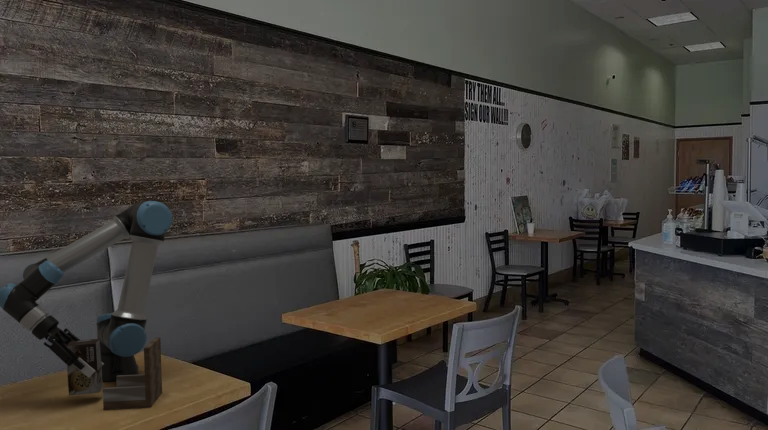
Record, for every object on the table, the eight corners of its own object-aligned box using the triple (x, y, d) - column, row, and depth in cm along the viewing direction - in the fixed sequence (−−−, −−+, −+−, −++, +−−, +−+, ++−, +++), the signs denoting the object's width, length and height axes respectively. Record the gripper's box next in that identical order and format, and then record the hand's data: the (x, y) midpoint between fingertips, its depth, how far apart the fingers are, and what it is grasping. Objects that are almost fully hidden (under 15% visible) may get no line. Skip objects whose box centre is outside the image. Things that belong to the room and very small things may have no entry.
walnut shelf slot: (118, 395, 200) (116, 339, 199) (162, 392, 202) (160, 337, 201) (103, 410, 186) (101, 350, 185) (150, 407, 188) (148, 348, 187)
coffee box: (103, 386, 199) (101, 338, 198) (99, 393, 193) (96, 342, 192) (73, 389, 197) (70, 340, 196) (67, 396, 190) (65, 345, 190)
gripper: (45, 325, 202) (99, 370, 204) (16, 339, 182) (76, 389, 185) (61, 308, 202) (114, 353, 205) (34, 321, 182) (93, 371, 185)
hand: (96, 370), depth 195 cm, fingers closed on coffee box, 7 cm apart
